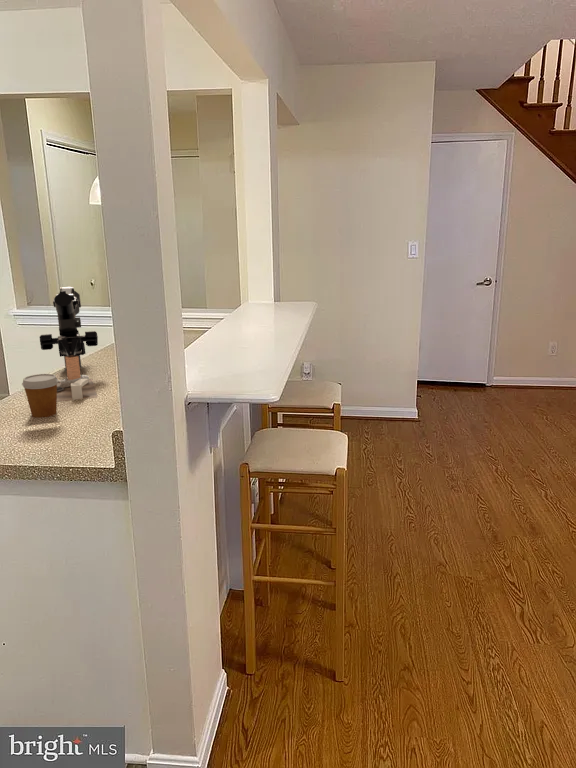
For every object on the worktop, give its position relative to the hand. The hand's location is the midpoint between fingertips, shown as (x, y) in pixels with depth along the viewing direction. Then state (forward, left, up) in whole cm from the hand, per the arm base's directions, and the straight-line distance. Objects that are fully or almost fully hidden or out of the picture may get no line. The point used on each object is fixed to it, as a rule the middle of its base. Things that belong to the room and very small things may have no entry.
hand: (71, 360), depth 197 cm
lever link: (+6, -2, -7) cm, 10 cm away
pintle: (+9, -6, -7) cm, 13 cm away
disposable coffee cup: (+34, -9, -9) cm, 36 cm away
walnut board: (+11, -1, -9) cm, 14 cm away
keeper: (+19, +1, -7) cm, 20 cm away
